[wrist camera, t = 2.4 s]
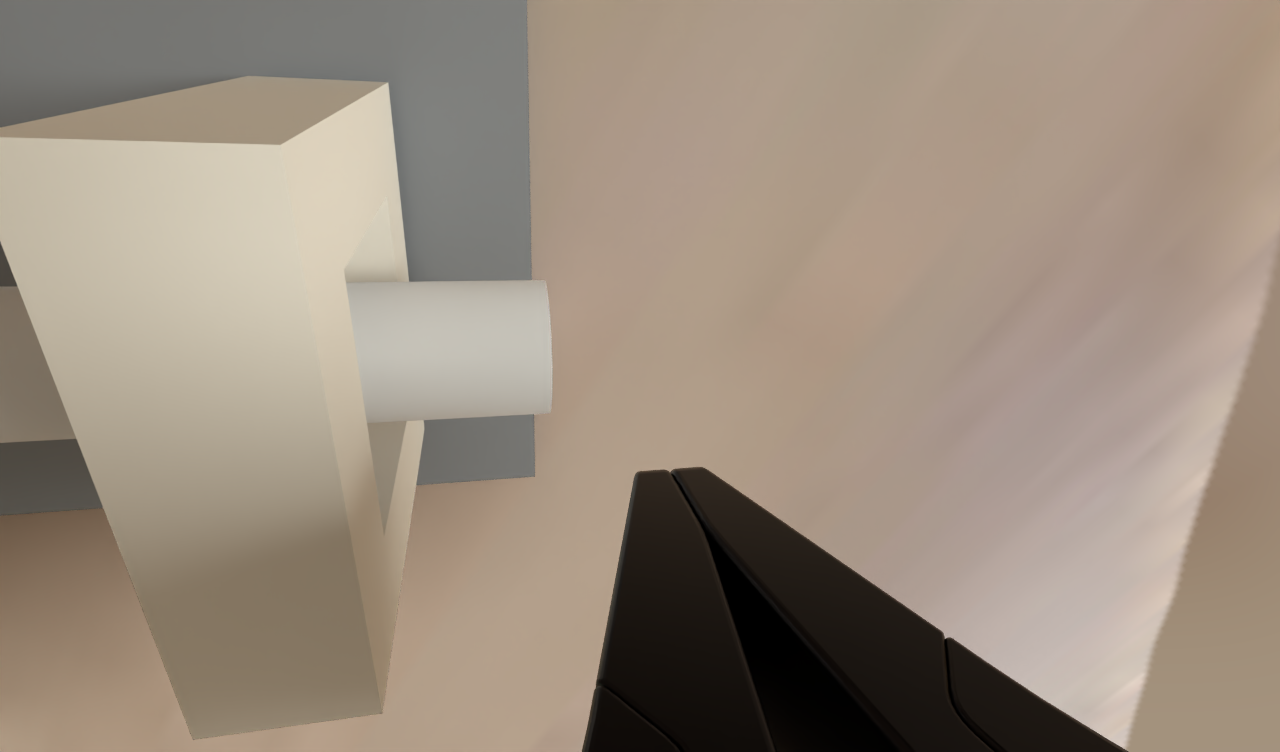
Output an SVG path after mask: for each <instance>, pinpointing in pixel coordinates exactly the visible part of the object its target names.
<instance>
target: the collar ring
mask: <svg viewBox="0 0 1280 752" xmlns="http://www.w3.org/2000/svg"><path fill="white" fill-rule="evenodd" d="M0 242H1V245H2V247H3V250H4V252H5V255H6V258H7V260H8V263H9V265H10V268H11V271H12V273H13V276H14V278H15V281H16V283H17V286H18V289H19V291H20V294H21V296H22V299H23V302H24V304H25V307H26V309H27V312H28V315H29V317H30V320H31V322H32V325H33V327H34V330H35V333H36V335H37V338H38V340H39V343H40V346H41V348H42V351H43V353H44V356H45V358H46V361H47V364H48V366H49V369H50V371H51V374H52V377H53V379H54V382H55V384H56V387H57V390H58V392H59V395H60V397H61V400H62V402H63V405H64V408H65V410H66V413H67V415H68V418H69V421H70V423H71V426H72V428H73V431H74V434H75V436H76V439H77V441H78V444H79V446H80V449H81V452H82V454H83V457H84V459H85V462H86V465H87V467H88V470H89V472H90V475H91V478H92V480H93V483H94V485H95V488H96V490H97V493H98V496H99V498H100V501H101V503H102V506H103V509H104V511H105V514H106V516H107V519H108V521H109V524H110V527H111V529H112V532H113V534H114V537H115V540H116V542H117V545H118V547H119V550H120V553H121V555H122V558H123V560H124V563H125V565H126V568H127V571H128V573H129V576H130V578H131V581H132V584H133V586H134V589H135V591H136V594H137V597H138V599H139V602H140V604H141V607H142V609H143V612H144V615H145V617H146V620H147V622H148V625H149V628H150V630H151V633H152V635H153V638H154V640H155V643H156V646H157V648H158V651H159V653H160V656H161V659H162V661H163V664H164V666H165V669H166V672H167V674H168V677H169V679H170V682H171V684H172V687H173V690H174V692H175V695H176V697H177V700H178V703H179V705H180V708H181V710H182V713H183V716H184V718H185V721H186V723H187V726H188V728H189V731H190V734H191V736H192V739H193V740H195V739H203V738H210V737H217V736H224V735H231V734H238V733H246V732H253V731H260V730H267V729H274V728H281V727H289V726H296V725H303V724H310V723H317V722H324V721H332V720H339V719H346V718H353V717H360V716H367V715H375V714H382V713H383V706H384V699H385V693H386V686H387V679H388V672H389V665H390V659H391V652H392V645H393V638H394V632H395V625H396V618H397V611H398V605H399V598H400V591H401V584H402V577H403V571H404V564H405V557H406V550H407V544H408V537H409V530H410V523H411V517H412V510H413V503H414V496H415V489H416V483H417V476H418V469H419V462H420V456H421V449H422V442H423V435H424V420H417V421H398V422H380V423H367V420H366V414H365V407H364V400H363V394H362V387H361V380H360V374H359V367H358V360H357V354H356V347H355V340H354V334H353V327H352V320H351V314H350V307H349V300H348V294H347V287H346V282H409V276H408V267H407V257H406V248H405V238H404V228H403V219H402V209H401V200H400V190H399V181H398V171H397V162H396V152H395V143H394V133H393V123H392V114H391V104H390V95H389V85H388V82H372V81H351V80H330V79H308V78H287V77H266V76H245V77H240V78H235V79H231V80H226V81H221V82H216V83H211V84H207V85H202V86H197V87H192V88H187V89H183V90H178V91H173V92H168V93H164V94H159V95H154V96H149V97H144V98H140V99H135V100H130V101H125V102H120V103H116V104H111V105H106V106H101V107H97V108H92V109H87V110H82V111H77V112H73V113H68V114H63V115H58V116H53V117H49V118H44V119H39V120H34V121H30V122H25V123H20V124H15V125H10V126H6V127H1V128H0Z"/></svg>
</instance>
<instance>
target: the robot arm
mask: <svg viewBox="0 0 1280 752" xmlns="http://www.w3.org/2000/svg"><path fill="white" fill-rule="evenodd" d="M582 752H1128V751H1127V750H1125V749H1123V748H1122V747H1120V746H1118V745H1116V744H1115V743H1113V742H1111V741H1110V740H1108V739H1106V738H1105V737H1103V736H1102V735H1100V734H1098V733H1097V732H1095V731H1094V730H1092V729H1090V728H1089V727H1087V726H1085V725H1084V724H1082V723H1081V722H1079V721H1077V720H1076V719H1074V718H1072V717H1071V716H1069V715H1068V714H1066V713H1064V712H1063V711H1061V710H1059V709H1058V708H1056V707H1055V706H1053V705H1051V704H1050V703H1048V702H1047V701H1045V700H1043V699H1042V698H1040V697H1039V696H1037V695H1036V694H1034V693H1033V692H1031V691H1030V690H1028V689H1027V688H1025V687H1024V686H1022V685H1021V684H1019V683H1018V682H1016V681H1015V680H1013V679H1011V678H1010V677H1008V676H1007V675H1005V674H1004V673H1002V672H1001V671H999V670H998V669H996V668H995V667H993V666H992V665H990V664H989V663H987V662H986V661H984V660H983V659H982V658H980V657H979V656H977V655H976V654H974V653H973V652H971V651H970V650H968V649H967V648H966V647H964V646H963V645H961V644H960V643H958V642H957V641H955V640H954V639H952V638H950V637H949V638H946V639H945V636H944V633H943V632H942V631H941V630H939V629H938V628H936V627H935V626H933V625H932V624H930V623H929V622H927V621H926V620H925V619H923V618H922V617H920V616H919V615H917V614H916V613H914V612H913V611H912V610H910V609H909V608H907V607H906V606H904V605H903V604H901V603H900V602H899V601H897V600H896V599H894V598H893V597H891V596H890V595H888V594H887V593H885V592H884V591H883V590H881V589H880V588H878V587H877V586H875V585H874V584H872V583H871V582H870V581H868V580H867V579H865V578H864V577H862V576H861V575H859V574H858V573H857V572H855V571H854V570H852V569H851V568H849V567H848V566H846V565H845V564H843V563H842V562H841V561H839V560H838V559H836V558H835V557H833V556H832V555H830V554H829V553H828V552H826V551H825V550H823V549H822V548H820V547H819V546H817V545H816V544H815V543H813V542H812V541H810V540H809V539H807V538H806V537H804V536H803V535H801V534H800V533H799V532H797V531H796V530H794V529H793V528H791V527H790V526H788V525H787V524H786V523H784V522H783V521H781V520H780V519H778V518H777V517H775V516H774V515H773V514H771V513H770V512H768V511H767V510H765V509H764V508H762V507H761V506H759V505H758V504H757V503H755V502H754V501H752V500H751V499H749V498H748V497H746V496H745V495H744V494H742V493H741V492H739V491H738V490H736V489H735V488H733V487H732V486H731V485H729V484H728V483H726V482H725V481H723V480H722V479H720V478H719V477H717V476H716V475H715V474H713V473H712V472H710V471H709V470H707V469H705V468H703V467H692V468H679V469H673V470H672V471H671V472H669V471H667V470H651V471H640V472H637V473H636V474H635V477H634V481H633V487H632V492H631V498H630V503H629V508H628V514H627V519H626V524H625V530H624V535H623V541H622V546H621V551H620V557H619V562H618V568H617V573H616V578H615V584H614V589H613V594H612V600H611V605H610V611H609V616H608V621H607V627H606V632H605V638H604V643H603V648H602V654H601V659H600V664H599V670H598V675H597V681H596V689H595V690H594V694H593V700H592V705H591V710H590V716H589V721H588V727H587V731H586V735H585V740H584V744H583V748H582Z"/></svg>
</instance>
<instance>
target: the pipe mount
mask: <svg viewBox="0 0 1280 752" xmlns="http://www.w3.org/2000/svg"><path fill="white" fill-rule="evenodd" d="M245 76H266V77H287V78H308V79H330V80H351V81H372V82H388V85H389V95H390V104H391V114H392V123H393V133H394V143H395V152H396V162H397V171H398V181H399V190H400V200H401V209H402V219H403V228H404V238H405V248H406V257H407V267H408V276H409V282H346V287H347V294H348V300H349V307H350V314H351V320H352V327H353V334H354V340H355V347H356V354H357V360H358V367H359V374H360V380H361V387H362V394H363V400H364V407H365V414H366V420H367V423H380V422H398V421H417V420H424V435H423V442H422V449H421V456H420V462H419V469H418V476H417V483H416V485H425V484H439V483H453V482H466V481H480V480H494V479H508V478H521V477H535V452H534V414H547V413H550V412H551V406H552V341H551V323H550V310H549V300H548V292H547V286H546V282H545V280H532V276H531V217H530V158H529V99H528V40H527V0H0V128H1V127H6V126H10V125H15V124H20V123H25V122H30V121H34V120H39V119H44V118H49V117H53V116H58V115H63V114H68V113H73V112H77V111H82V110H87V109H92V108H97V107H101V106H106V105H111V104H116V103H120V102H125V101H130V100H135V99H140V98H144V97H149V96H154V95H159V94H164V93H168V92H173V91H178V90H183V89H187V88H192V87H197V86H202V85H207V84H211V83H216V82H221V81H226V80H231V79H235V78H240V77H245ZM96 508H103V506H102V503H101V501H100V498H99V496H98V493H97V490H96V488H95V485H94V483H93V480H92V478H91V475H90V472H89V470H88V467H87V465H86V462H85V459H84V457H83V454H82V452H81V449H80V446H79V444H78V441H77V439H76V436H75V434H74V431H73V428H72V426H71V423H70V421H69V418H68V415H67V413H66V410H65V408H64V405H63V402H62V400H61V397H60V395H59V392H58V390H57V387H56V384H55V382H54V379H53V377H52V374H51V371H50V369H49V366H48V364H47V361H46V358H45V356H44V353H43V351H42V348H41V346H40V343H39V340H38V338H37V335H36V333H35V330H34V327H33V325H32V322H31V320H30V317H29V315H28V312H27V309H26V307H25V304H24V302H23V299H22V296H21V294H20V291H19V289H18V286H17V283H16V281H15V278H14V276H13V273H12V271H11V268H10V265H9V263H8V260H7V258H6V255H5V252H4V250H3V247H2V245H1V242H0V515H14V514H28V513H41V512H55V511H69V510H82V509H96Z"/></svg>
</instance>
